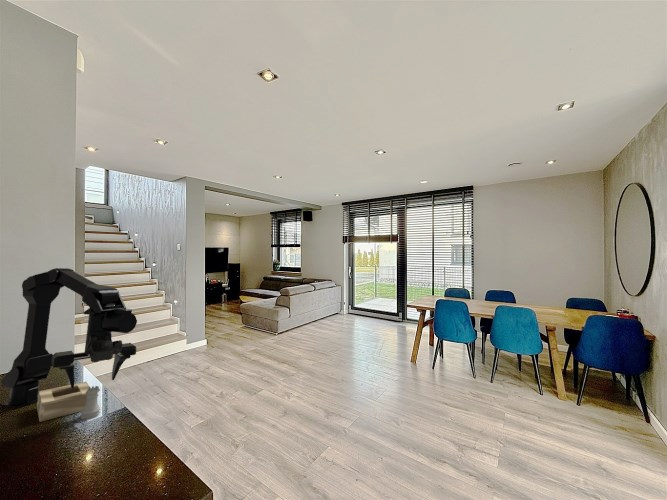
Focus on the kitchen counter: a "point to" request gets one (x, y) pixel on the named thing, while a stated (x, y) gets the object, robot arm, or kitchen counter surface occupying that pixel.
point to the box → (61, 401)
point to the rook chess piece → (91, 404)
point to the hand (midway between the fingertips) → (93, 383)
